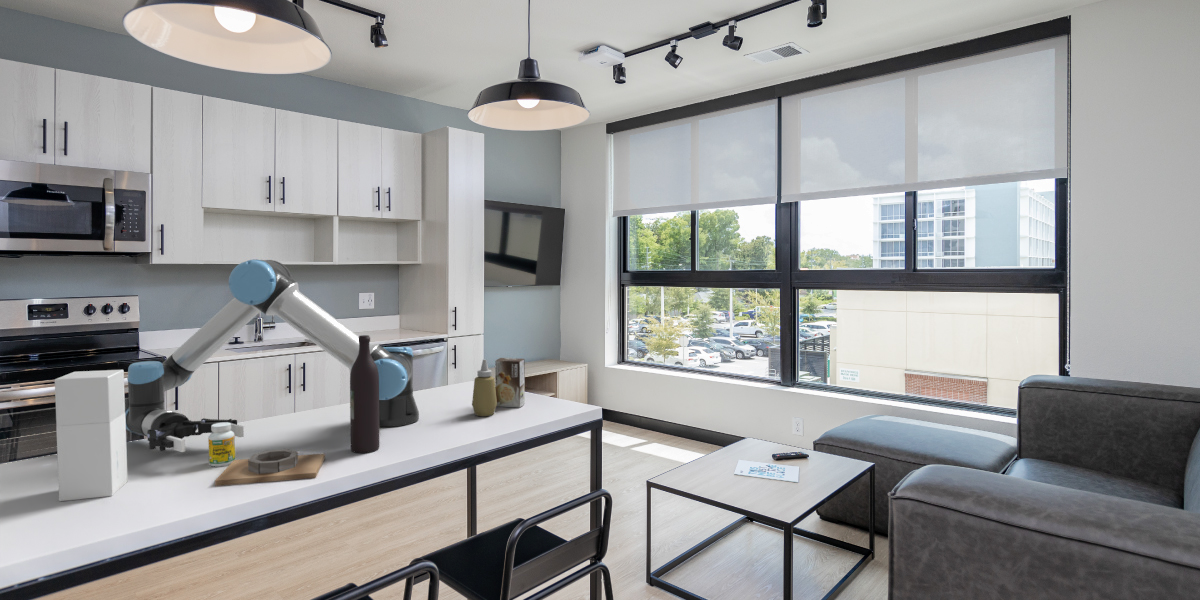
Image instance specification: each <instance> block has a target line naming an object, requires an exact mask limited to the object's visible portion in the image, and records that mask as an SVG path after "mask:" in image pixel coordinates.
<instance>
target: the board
mask: <svg viewBox="0 0 1200 600" xmlns="http://www.w3.org/2000/svg"><path fill="white" fill-rule="evenodd" d="M298 453H299V452H298V451H297V450H291V449H286V448H284V449H271V450H270V449H269V450H265V451H262V452H259V453H255V454H252V455H251V456H250V457H249V458H244V459H243V458H242V459H235V460H233V462H232V463H231V464H229V465H227V467H226V468H225V469H223V472H221V473H220V474H219V476H218V477H217V478H216V479H215V480H214V486H215V487H218V486H219V487H221V486H231V485H244V484H257V483H267V482H269V483H270V482H278V481H279V482H280V481H292V480H293V481H294V480H295V481H296V480H303V479H305V478H306V479H316V478H317V477H318V474H319V472H320V469H321V468H322V465H323V463H324V461H325V459H326V454H325V453H316V454H315V453H313V454H300V455H298Z"/></svg>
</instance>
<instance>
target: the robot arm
mask: <svg viewBox="0 0 1200 600" xmlns="http://www.w3.org/2000/svg"><path fill="white" fill-rule="evenodd" d="M228 288H229V291H230V293H231V295H232V296H233V298H232V299H231V300H230V301H229V302H228V303H227V304H225V306H223V307H222V308H221V309H220V310H219V311H218V312H217V313H216V314H215V315H213V316H212V317H211V318H210V319H209V320H208V321H207V322H206V323H205V324H204V325H202V326H201V327H200V328H199V329H198V330H197V331H196V332H195V333H193V334H192V335H191V336H190V337H189V338H188V339H187V340H186V341H184V343H183V344H181V345H180V346H179V347H178V348H177V349H176V350H175V351H174V352H173V353H172V354H171V355H169V356H168V357H167V358H166V359H165V360H164V361H162V362H161V361H157V360H148V361H139V362H133V363H131V364H130V365H129V366H128V370H127V387H128V388H127V389H128V392H127V393H128V408H127V409H125V419H126V430H127V431H129V432H130V433H133V434H135V435H139V436H144V437H146V438H147V441H148V447H149V448H148V449H149V450H151V451H153V450H156V449H157V447H159V449H158V450H159V451H160V452H165V451H166V449H170V450H173V451H177V452H179V453H180V452H181V453H184V452H186V439H184V438H189V437H191V436H201V435H203V434H211V433H213V432H212V430H211V426H212V425H213V424H216V423H223V422H229V423H231V429H230V431H233V432H234V434H235V437H238V438H244V426H243V425H240V424H238V419H232V418H230V419H217V418H216V419H214V418H213V419H211V418H205V417H204V418H201V419H200V420H191V419H190V420H189V418H188V417H187V416H186V415H184V414H183V413H179V412H175V411H171V410H168V409H165V392H168V391H169V390H172V389H175V388H177V387H181V386H183V385H184V384H186V383H187V382H188V381H189V380H190V379H191V378H192V376H193V374H194V373H195V372H196V371H197V370H198V369H199V368H200V367H201V366H202V365H203V364H204V363H205V362H206V361H208V359H210V358H211V357H212V356H213V355H215V353H216V352H218V351H219V350H220V349H221V348H222V347H223V346H224V345H225V344H226V343H227V342H229V340H230V339H232V338H233V337H234V336H235V335H236V334H237V333H238V332H240V331H241V330H242V329H243V328H244V327H245V326H246V325H247V324H248V323H250V322H251V321H252V320H253V319H254V318H255V317H256V316H257V315H258V314H259V313H263V314H264V315H265V316H267V317H271V316H277V317H278V318H279V319H281V320H282V321H284V322H285V323H286V324H287V325H289V326H291V328H293V329H295V330H296V331H297V332H299V333H300V334H301V335H303V336H304V337H306V338H307V339H308V340H310V341H311V342H312V343H314V344H315V345H316V346H318V347H319V348H320V349H322V350H323V351H325V352H326V353H327V354H329V355H331V357H332V358H334V359H335V360H337V361H338V362H339V363H341V364H342V365H344V366H345V367H347V368H348V370H349V374H350V373H351V369H352V366H353V364H354V362H355V360H356V358H357V356H358V354H359V342H358V338H359V336H360V335H358V334H356V333H355V332H354V331H352V330H351V329H350V328H349V327H347V326H346V325H345V324H343V323H342V322H341V321H339V320H338V319H337V318H335V317H334V316H333V315H331V314H330V313H328V312H327V311H326V310H325V309H323V308H322V307H320V306H319V305H318V304H317V303H315V302H314V301H312V300H311V299H310V298H309V297H307V296H306V295H304V294H303V293H302V292H301V291H300V290H299V289H300V288H299V283H298V282H297V281H296V280H294V279H293V276H292V274H291V272H290V270H289V269H288V267H287V266H285V265H284V264H283V263H281V262H279V261H277V260H272V259H258V258H257V259H249V260H246V261H243V262H241V263H239V264H237V265H236V266H235V267H234V268H233V269H232V271H231V273H230V274H229V277H228ZM369 349H370V354H371V356H372V358H373V360H374V362H375V364H376V366H377V368H378V372H379V427H382V428H383V427H385V428H387V427H388V428H389V427H401V426H407V425H409V424H414V423H417V421H419V419H420V412H419V408H418V406H417V403H416V401H415V396H414V385H413V384H414V372H413V371H414V368H413V367H414V363H413V362H414V361H413V360H414V354H413V353H414V351H413V348H412V347H410V346H386V347H385V346H382V345H380V344H379V343H377V344H376V343H375V344H370V343H369Z"/></svg>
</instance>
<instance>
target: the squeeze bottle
mask: <svg viewBox="0 0 1200 600" xmlns="http://www.w3.org/2000/svg"><path fill="white" fill-rule="evenodd" d="M480 367H481V368H480V369H479V370H478V369H477V376H476V377H475V378H474V380H473V381H474V382H473V391H472V392H473V393H472V401H471V406H472V409H473V412H474V415H475V416H478V417H490V416H492V415H494V414H495V412H496V408H497V406H496V405H497V399H496V388H495V377H493V372H492V371H493V370H491V369H489V365H488V361H487V359H485V358H484V359H482V362H481V366H480Z"/></svg>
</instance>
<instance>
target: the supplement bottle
mask: <svg viewBox="0 0 1200 600" xmlns="http://www.w3.org/2000/svg"><path fill="white" fill-rule="evenodd" d="M230 429H231V423H229V422H223V423H216V424H213V425H212V426H211V430H212V432H213V433H209V435H208V438H207V439H208V441H207V442H208V463H209V464H208V465H209V466H211V467H214V466H215V467H216V468H218V467H225V466H229V465H230V464H231V463H232V462H233V460H236V439H235V438H236V436H235V434H234V432H233V431H230Z"/></svg>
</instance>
